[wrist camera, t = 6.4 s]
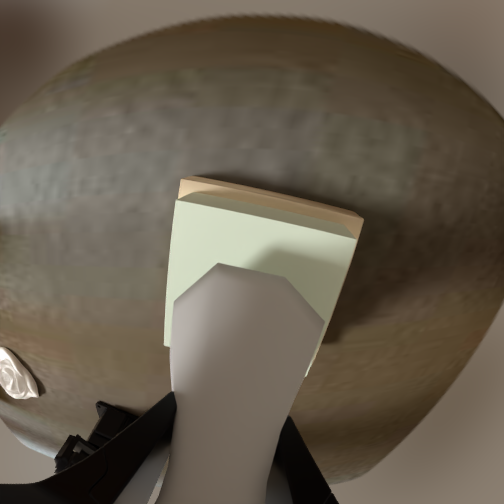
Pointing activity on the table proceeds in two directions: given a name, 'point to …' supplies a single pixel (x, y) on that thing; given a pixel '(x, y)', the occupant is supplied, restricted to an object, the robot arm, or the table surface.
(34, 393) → the rose
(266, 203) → the tower base
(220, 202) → the tower top
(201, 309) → the flask
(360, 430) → the table surface
